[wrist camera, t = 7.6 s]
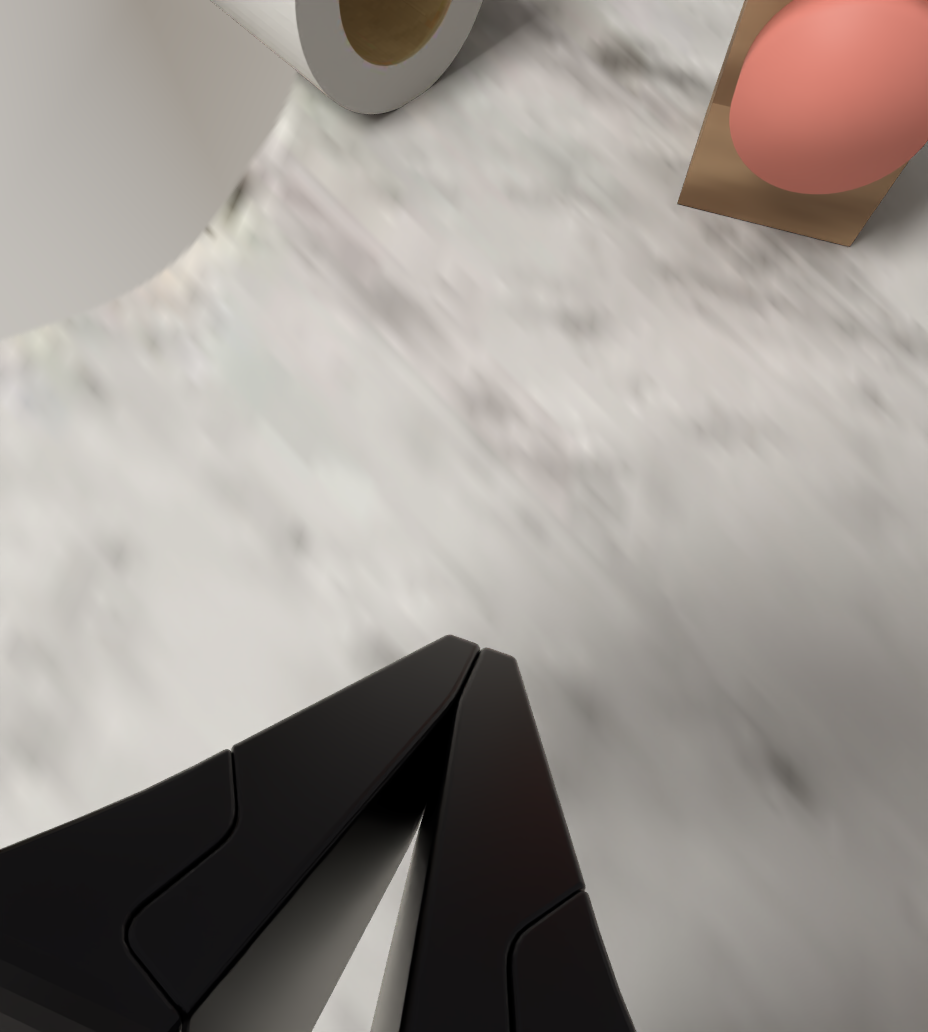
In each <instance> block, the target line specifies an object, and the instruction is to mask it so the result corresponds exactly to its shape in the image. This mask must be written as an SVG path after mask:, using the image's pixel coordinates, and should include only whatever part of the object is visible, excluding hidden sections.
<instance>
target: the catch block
mask: <svg viewBox="0 0 928 1032" xmlns="http://www.w3.org/2000/svg"><path fill="white" fill-rule="evenodd" d="M792 1H793V0H745V1H744V4H743V7H742V10H741V13H740V15H739V18H738V21H737V24H736V27H735V30H734V33H733V36H732V39H731V42H730V45H729V47H728V50H727V53H726V56H725V59H724V62H723V65H722V68H721V71H720V74H719V77H718V80H717V82H716V85H715V88H714V91H713V94H712V97H711V100H710V103H709V106H708V109H707V112H706V115H705V118H704V121H703V125H702V128H701V131H700V134H699V137H698V140H697V143H696V147H695V150H694V153H693V156H692V159H691V162H690V165H689V169H688V172H687V175H686V178H685V181H684V184H683V187H682V191H681V194H680V197H679V200H678V203H677V204H681V205H685V206H689V207H693V208H697V209H701V210H705V211H709V212H713V213H717V214H721V215H725V216H729V217H733V218H737V219H741V220H745V221H749V222H753V223H757V224H761V225H765V226H769V227H773V228H777V229H781V230H785V231H789V232H793V233H797V234H801V235H805V236H809V237H813V238H817V239H821V240H825V241H829V242H833V243H837V244H841V245H845V246H849V247H850V246H851V244H852V243H853V241H854V240H855V238H856V237H857V235H858V234H859V232H860V231H861V230H862V228H863V227H864V225H865V224H866V222H867V221H868V219H869V218H870V217H871V215H872V214H873V212H874V211H875V209H876V208H877V206H878V205H879V203H880V202H881V201H882V199H883V198H884V196H885V195H886V193H887V192H888V190H889V189H890V188H891V186H892V185H893V183H894V182H895V180H896V179H897V177H898V176H899V175H900V173H901V172H902V170H903V169H904V167H905V166H906V164H907V163H908V161H909V160H908V161H907V162H906V163H905V164H903V165H902V166H901V167H899V168H898V169H896V170H895V171H893V172H892V173H890V174H888V175H887V176H885V177H883V178H881V179H879V180H877V181H875V182H872V183H870V184H868V185H865V186H862V187H859V188H856V189H853V190H848V191H844V192H839V193H831V194H803V193H797V192H791V191H787V190H784V189H781V188H778V187H776V186H773V185H771V184H769V183H767V182H766V181H764V180H762V179H761V178H759V177H758V176H757V175H755V174H754V173H753V172H752V171H751V170H750V169H749V168H748V167H747V166H746V165H745V164H744V163H743V161H742V160H741V158H740V157H739V155H738V153H737V151H736V149H735V147H734V144H733V141H732V138H731V133H730V126H729V114H730V108H731V102H732V99H733V95H734V92H735V89H736V85H737V82H738V79H739V75H740V72H741V69H742V65H743V62H744V59H745V57H746V55H747V53H748V50H749V48H750V46H751V45H752V43H753V41H754V40H755V38H756V36H757V35H758V34H759V32H760V31H761V30H762V29H763V27H764V26H765V25H766V24H767V23H768V22H769V21H770V20H771V18H772V17H773V16H774V15H775V14H776V13H778V12H779V11H780V10H781V9H782V8H784V7H785V6H786V5H787V4H789V3H790V2H792Z"/></svg>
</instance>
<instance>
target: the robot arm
mask: <svg viewBox="0 0 928 1032" xmlns="http://www.w3.org/2000/svg"><path fill="white" fill-rule="evenodd" d="M422 817H423V818H422ZM421 819H422V821H421ZM420 821H421V824H420ZM419 824H420V828H419V831H418V835H417V839H416V842H415V846H414V850H413V854H412V858H411V862H410V866H409V871H408V875H407V879H406V883H405V888H404V892H403V896H402V900H401V904H400V909H399V913H398V917H397V921H396V926H395V930H394V934H393V938H392V942H391V947H390V951H389V955H388V959H387V964H386V968H385V972H384V976H383V980H382V985H381V989H380V993H379V997H378V1002H377V1006H376V1010H375V1014H374V1018H373V1023H372V1027H371V1031H370V1032H636V1030H635V1027H634V1025H633V1022H632V1020H631V1017H630V1015H629V1012H628V1010H627V1007H626V1005H625V1002H624V1000H623V997H622V995H621V992H620V990H619V987H618V984H617V981H616V978H615V975H614V972H613V969H612V966H611V963H610V960H609V957H608V955H607V952H606V949H605V946H604V943H603V940H602V937H601V934H600V931H599V928H598V924H597V921H596V918H595V914H594V911H593V908H592V904H591V901H590V898H589V895H588V893H587V892H585V883H584V879H583V876H582V873H581V870H580V866H579V863H578V860H577V857H576V853H575V850H574V847H573V843H572V840H571V837H570V834H569V830H568V827H567V824H566V821H565V817H564V814H563V811H562V808H561V804H560V801H559V798H558V794H557V791H556V788H555V785H554V781H553V778H552V775H551V772H550V768H549V765H548V762H547V759H546V755H545V752H544V749H543V746H542V742H541V739H540V736H539V732H538V729H537V726H536V723H535V719H534V716H533V713H532V710H531V706H530V703H529V700H528V697H527V693H526V690H525V687H524V684H523V680H522V677H521V674H520V670H519V667H518V664H517V661H516V659H515V658H514V657H512V656H510V655H507V654H504V653H501V652H499V651H496V650H493V649H490V648H483V649H482V650H481V651H480V647H479V646H478V645H477V644H476V643H473V642H470V641H468V640H465V639H462V638H459V637H456V636H454V635H446V636H444V637H442V638H440V639H438V640H436V641H434V642H432V643H430V644H428V645H426V646H425V647H423V648H421V649H419V650H417V651H415V652H413V653H411V654H409V655H407V656H405V657H403V658H401V659H399V660H397V661H396V662H394V663H392V664H390V665H388V666H386V667H384V668H382V669H380V670H378V671H376V672H374V673H372V674H370V675H369V676H367V677H365V678H363V679H361V680H359V681H357V682H355V683H353V684H351V685H349V686H347V687H345V688H343V689H342V690H340V691H338V692H336V693H334V694H332V695H330V696H328V697H326V698H324V699H322V700H320V701H318V702H316V703H315V704H313V705H311V706H309V707H307V708H305V709H303V710H301V711H299V712H297V713H295V714H293V715H291V716H289V717H288V718H286V719H284V720H282V721H280V722H278V723H276V724H274V725H272V726H270V727H268V728H266V729H264V730H262V731H260V732H259V733H257V734H255V735H253V736H251V737H249V738H247V739H245V740H243V741H241V742H239V743H237V744H235V745H234V746H233V747H232V749H231V751H230V750H228V749H225V750H223V751H221V752H219V753H217V754H215V755H214V756H212V757H210V758H208V759H206V760H204V761H202V762H200V763H198V764H196V765H194V766H192V767H190V768H188V769H186V770H184V771H182V772H180V773H178V774H176V775H174V776H171V777H169V778H167V779H165V780H163V781H161V782H159V783H157V784H155V785H153V786H151V787H149V788H147V789H145V790H143V791H140V792H138V793H136V794H133V795H131V796H129V797H126V798H124V799H122V800H119V801H117V802H114V803H112V804H110V805H107V806H105V807H103V808H100V809H98V810H96V811H93V812H91V813H89V814H86V815H84V816H82V817H79V818H77V819H74V820H72V821H69V822H67V823H64V824H62V825H59V826H57V827H54V828H52V829H49V830H47V831H44V832H42V833H39V834H37V835H35V836H32V837H30V838H27V839H25V840H22V841H20V842H17V843H15V844H12V845H10V846H7V847H5V848H2V849H0V1032H312V1030H313V1028H314V1026H315V1024H316V1022H317V1020H318V1018H319V1016H320V1015H321V1013H322V1011H323V1009H324V1007H325V1005H326V1003H327V1001H328V999H329V997H330V996H331V994H332V992H333V990H334V988H335V986H336V984H337V982H338V980H339V978H340V977H341V975H342V973H343V971H344V969H345V967H346V965H347V963H348V961H349V959H350V958H351V956H352V954H353V952H354V950H355V948H356V946H357V944H358V942H359V940H360V939H361V937H362V935H363V933H364V931H365V929H366V927H367V925H368V923H369V921H370V920H371V918H372V916H373V914H374V912H375V910H376V908H377V906H378V904H379V902H380V901H381V899H382V897H383V895H384V893H385V891H386V889H387V887H388V885H389V883H390V882H391V880H392V878H393V876H394V874H395V872H396V870H397V868H398V866H399V864H400V863H401V861H402V859H403V857H404V855H405V853H406V851H407V849H408V847H409V845H410V843H411V841H412V839H413V837H414V835H415V833H416V831H417V829H418V826H419Z"/></svg>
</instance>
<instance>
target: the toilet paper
mask: <svg viewBox="0 0 928 1032" xmlns="http://www.w3.org/2000/svg"><path fill="white" fill-rule="evenodd" d="M210 1H211V2H213V3H214V4H215V5H216V6H218V7H219V8H220V9H221V10H222V11H224V12H225V13H226V14H227V15H229V16H230V17H231V18H232V19H234V20H235V21H236V22H237V23H238V24H240V25H241V26H242V27H243V28H245V29H246V30H247V31H248V32H250V33H251V34H252V35H253V36H254V37H256V38H257V39H258V40H259V41H261V42H262V43H263V44H264V45H266V46H267V47H268V48H269V49H270V50H272V51H273V52H274V53H275V54H277V55H278V56H279V57H280V58H282V59H283V60H284V61H285V62H286V63H288V64H289V65H290V66H291V67H293V68H294V69H295V70H296V71H298V72H299V73H300V74H301V75H302V76H304V77H305V78H306V79H307V80H309V81H310V82H311V83H312V84H314V85H315V86H316V87H317V88H318V89H320V90H321V91H322V92H323V93H325V94H326V95H327V96H328V97H330V98H331V99H332V100H333V101H335V102H336V103H337V104H339V105H340V106H342V107H344V108H346V109H348V110H351V111H354V112H358V113H362V114H380V113H385V112H389V111H392V110H395V109H398V108H400V107H402V106H404V105H405V104H407V103H408V102H410V101H412V100H413V99H415V98H416V97H418V96H419V95H421V94H422V93H424V92H425V91H426V90H427V89H429V88H430V87H431V86H432V85H433V84H434V83H435V82H436V81H437V80H438V79H439V77H440V76H441V75H442V74H443V73H444V72H445V70H446V69H447V68H448V67H449V65H450V64H451V63H452V61H453V60H454V58H455V57H456V55H457V54H458V52H459V51H460V49H461V47H462V46H463V44H464V42H465V40H466V38H467V37H468V35H469V33H470V31H471V29H472V26H473V24H474V22H475V20H476V18H477V15H478V12H479V10H480V7H481V5H482V2H483V0H210Z"/></svg>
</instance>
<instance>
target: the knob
mask: <svg viewBox="0 0 928 1032" xmlns="http://www.w3.org/2000/svg"><path fill="white" fill-rule="evenodd" d="M729 126H730V133H731V138H732V141H733V144H734V147H735V149H736V151H737V153H738V155H739V157H740V158H741V160H742V161H743V163H744V164H745V165H746V166H747V167H748V168H749V169H750V170H751V171H752V172H753V173H754V174H755V175H757V176H758V177H759V178H761V179H762V180H764V181H766V182H767V183H769V184H771V185H773V186H776V187H778V188H781V189H784V190H787V191H791V192H797V193H803V194H831V193H839V192H844V191H848V190H853V189H856V188H859V187H862V186H865V185H868V184H870V183H872V182H875V181H877V180H879V179H881V178H883V177H885V176H887V175H888V174H890V173H892V172H893V171H895V170H896V169H898V168H899V167H901V166H902V165H903V164H905V163H906V162H907V161H908V160H910V159H911V158H912V157H913V156H914V155H915V154H916V153H917V152H918V151H919V150H920V149H921V148H922V147H923V146H924V145H925V143H926V142H927V141H928V0H793V1H792V2H790V3H789V4H787V5H786V6H785V7H784V8H782V9H781V10H780V11H779V12H778V13H776V14H775V15H774V16H773V17H772V18H771V20H770V21H769V22H768V23H767V24H766V25H765V26H764V27H763V29H762V30H761V31H760V32H759V34H758V35H757V36H756V38H755V40H754V41H753V43H752V45H751V46H750V48H749V50H748V53H747V55H746V57H745V59H744V62H743V65H742V69H741V72H740V75H739V79H738V82H737V85H736V89H735V92H734V95H733V99H732V102H731V108H730V114H729Z"/></svg>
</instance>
